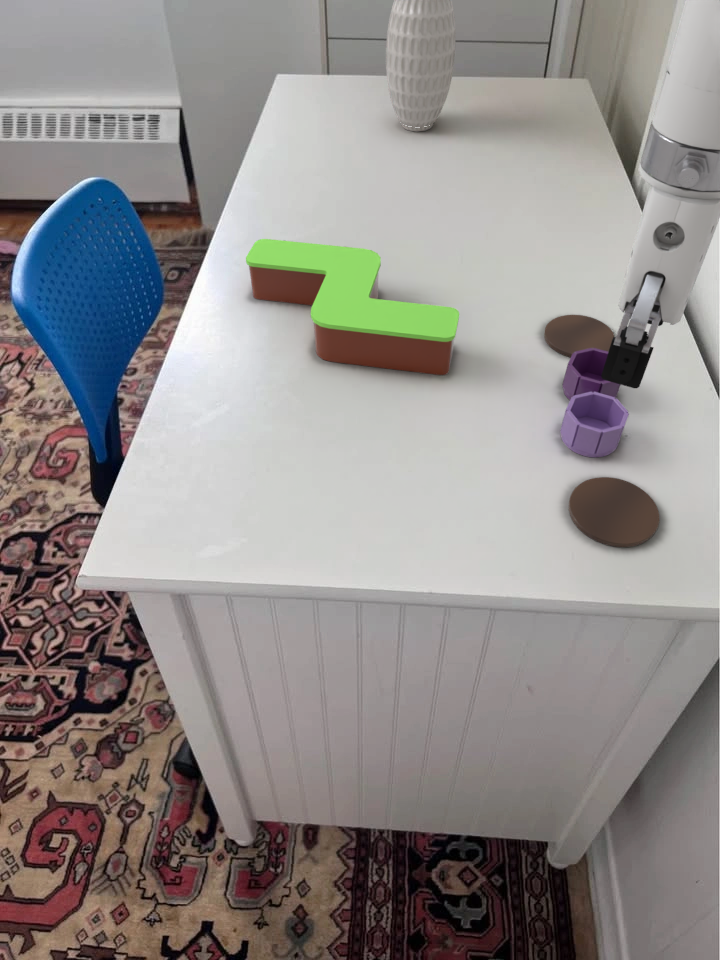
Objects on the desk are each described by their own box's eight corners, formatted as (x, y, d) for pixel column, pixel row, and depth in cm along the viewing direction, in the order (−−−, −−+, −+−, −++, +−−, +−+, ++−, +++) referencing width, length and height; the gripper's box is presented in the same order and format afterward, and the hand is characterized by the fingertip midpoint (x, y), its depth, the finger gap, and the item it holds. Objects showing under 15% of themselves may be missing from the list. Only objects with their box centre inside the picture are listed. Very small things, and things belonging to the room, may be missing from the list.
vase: (381, 137, 138) (383, -40, 118) (388, 111, 147) (391, -58, 126) (447, 140, 137) (461, -38, 116) (450, 114, 146) (464, -56, 125)
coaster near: (665, 497, 75) (667, 493, 75) (648, 559, 70) (649, 556, 70) (581, 470, 78) (582, 466, 78) (558, 528, 73) (559, 524, 72)
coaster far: (620, 328, 96) (622, 324, 95) (604, 366, 90) (605, 363, 90) (554, 311, 99) (555, 308, 98) (535, 347, 93) (536, 344, 93)
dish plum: (622, 383, 88) (630, 357, 85) (609, 415, 84) (618, 388, 81) (570, 369, 90) (577, 343, 87) (556, 399, 86) (563, 373, 83)
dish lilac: (623, 428, 83) (633, 402, 80) (610, 464, 79) (620, 438, 76) (569, 412, 85) (576, 386, 82) (553, 446, 81) (560, 420, 78)
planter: (465, 296, 101) (470, 259, 97) (450, 377, 89) (454, 338, 85) (262, 275, 106) (257, 238, 101) (220, 349, 93) (213, 311, 89)
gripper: (738, 220, 44) (656, 423, 57) (768, 120, 55) (693, 310, 68) (617, 196, 47) (563, 395, 59) (667, 104, 57) (613, 290, 70)
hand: (632, 350), depth 63 cm, fingers open, 9 cm apart
